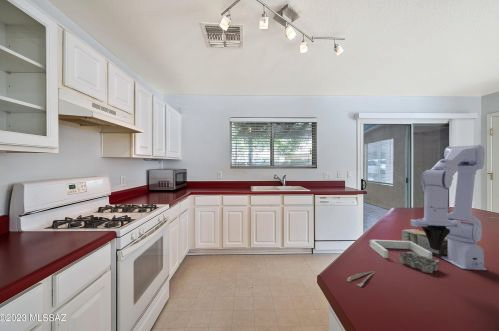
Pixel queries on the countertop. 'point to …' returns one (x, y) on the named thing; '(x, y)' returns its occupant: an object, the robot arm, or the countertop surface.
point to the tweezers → (360, 276)
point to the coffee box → (424, 241)
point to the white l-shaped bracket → (382, 244)
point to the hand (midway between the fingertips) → (434, 249)
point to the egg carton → (418, 261)
